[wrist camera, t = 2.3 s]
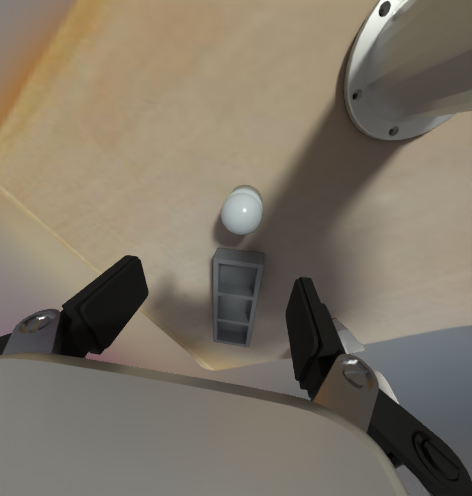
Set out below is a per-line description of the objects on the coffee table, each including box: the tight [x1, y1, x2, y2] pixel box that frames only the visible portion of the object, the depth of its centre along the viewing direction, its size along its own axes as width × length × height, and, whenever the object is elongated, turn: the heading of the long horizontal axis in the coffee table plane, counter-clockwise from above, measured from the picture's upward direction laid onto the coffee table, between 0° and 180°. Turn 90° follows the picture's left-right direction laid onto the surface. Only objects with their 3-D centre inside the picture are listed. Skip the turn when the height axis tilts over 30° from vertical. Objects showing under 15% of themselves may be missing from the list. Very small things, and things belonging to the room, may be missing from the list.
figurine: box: [332, 318, 399, 404], centre depth 29 cm, size 7×9×15 cm
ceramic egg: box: [221, 185, 262, 235], centre depth 22 cm, size 5×5×8 cm
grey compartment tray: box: [213, 248, 264, 347], centre depth 34 cm, size 22×8×3 cm, turn 176°
